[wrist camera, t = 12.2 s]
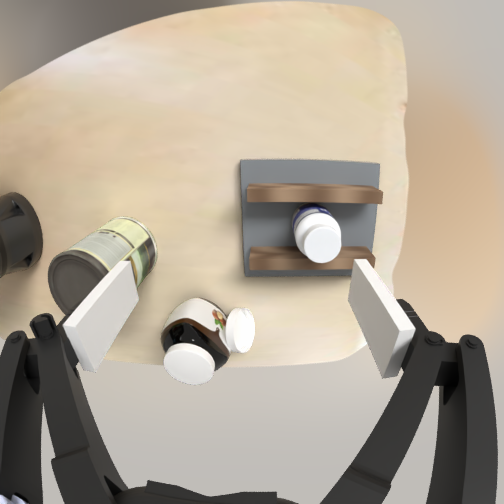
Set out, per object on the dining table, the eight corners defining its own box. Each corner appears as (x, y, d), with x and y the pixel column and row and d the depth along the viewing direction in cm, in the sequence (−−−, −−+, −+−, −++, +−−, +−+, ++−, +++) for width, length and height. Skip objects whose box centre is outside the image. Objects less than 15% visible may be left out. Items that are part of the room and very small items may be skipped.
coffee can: (170, 263, 42) (133, 318, 29) (122, 285, 44) (80, 337, 31) (135, 203, 38) (81, 237, 25) (90, 232, 41) (35, 272, 28)
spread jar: (167, 308, 45) (142, 355, 34) (216, 270, 42) (199, 317, 31) (216, 353, 48) (205, 404, 38) (267, 323, 45) (266, 376, 34)
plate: (245, 272, 42) (244, 276, 41) (241, 159, 35) (240, 160, 34) (366, 271, 41) (368, 275, 39) (376, 162, 34) (379, 163, 33)
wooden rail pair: (251, 256, 39) (249, 269, 36) (249, 183, 35) (246, 189, 32) (365, 256, 38) (373, 268, 35) (371, 185, 34) (383, 191, 31)
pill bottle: (337, 227, 37) (355, 253, 29) (304, 247, 38) (313, 278, 30) (317, 193, 35) (332, 211, 27) (283, 214, 37) (287, 238, 29)
